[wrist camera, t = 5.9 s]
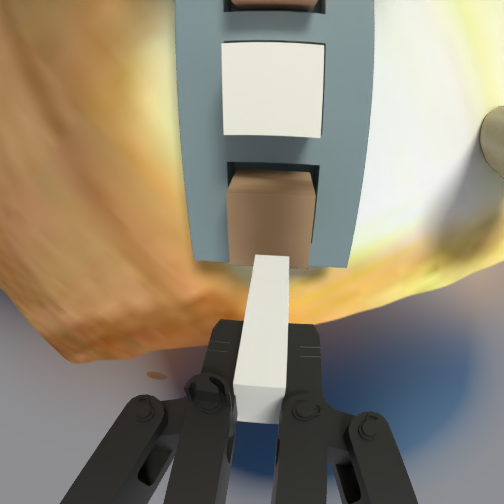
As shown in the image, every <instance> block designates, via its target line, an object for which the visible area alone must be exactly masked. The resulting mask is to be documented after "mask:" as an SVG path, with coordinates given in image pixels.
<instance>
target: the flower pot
mask: <svg viewBox="0 0 504 504" xmlns="http://www.w3.org/2000/svg"><path fill="white" fill-rule="evenodd" d="M480 143H481V147H482V150H483V153H484V156H485V159H486V161H487V162H488V164H489V165H490V166H491V167H492V168H493V169H494V170H496V171H497V172H498V173H499V174H500V176H501V177H502V178H503V179H504V106H499V107H497V108H495V109H494V110H492V111H491V112H489V113H488V114H487V116H486V117H485V119H484V121H483V124H482V128H481V135H480Z"/></svg>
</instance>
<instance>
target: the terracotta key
mask: <svg viewBox="0 0 504 504" xmlns="http://www.w3.org/2000/svg"><path fill="white" fill-rule="evenodd" d="M231 1H232V2H233V4H234V5H235V6H236V8H237V9H238V10H243V9H286V10H304V11H313V9H314V7H315V5H316V3H317V1H318V0H231Z"/></svg>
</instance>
